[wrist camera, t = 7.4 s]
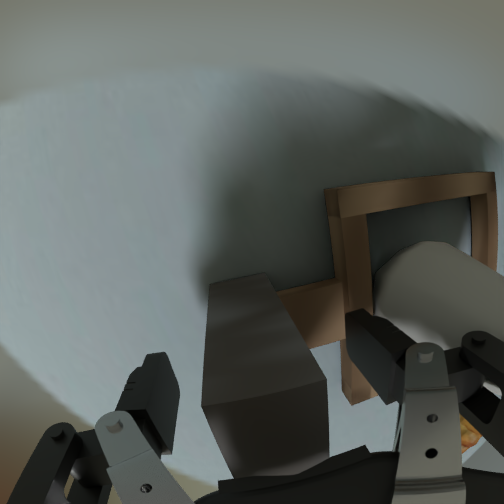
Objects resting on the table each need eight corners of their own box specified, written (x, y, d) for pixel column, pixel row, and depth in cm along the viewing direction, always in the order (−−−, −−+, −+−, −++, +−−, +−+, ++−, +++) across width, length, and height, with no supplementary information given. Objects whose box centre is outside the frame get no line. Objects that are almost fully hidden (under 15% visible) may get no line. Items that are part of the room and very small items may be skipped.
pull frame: (477, 171, 13) (578, 176, 5) (473, 331, 16) (546, 378, 8) (194, 213, 12) (150, 246, 4) (245, 415, 14) (265, 534, 7)
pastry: (430, 460, 20) (445, 481, 16) (405, 455, 19) (422, 479, 15) (488, 398, 19) (507, 415, 16) (473, 382, 18) (497, 402, 14)
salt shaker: (376, 221, 13) (645, 284, 1) (444, 248, 14) (631, 306, 2) (342, 331, 14) (529, 510, 1) (415, 338, 15) (569, 448, 2)
